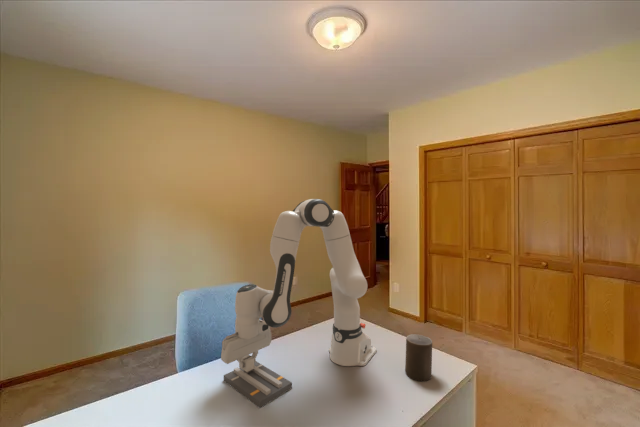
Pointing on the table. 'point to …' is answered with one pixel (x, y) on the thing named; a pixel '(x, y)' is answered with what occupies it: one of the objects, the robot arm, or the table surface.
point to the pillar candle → (418, 357)
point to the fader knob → (248, 363)
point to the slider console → (258, 384)
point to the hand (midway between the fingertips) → (247, 364)
